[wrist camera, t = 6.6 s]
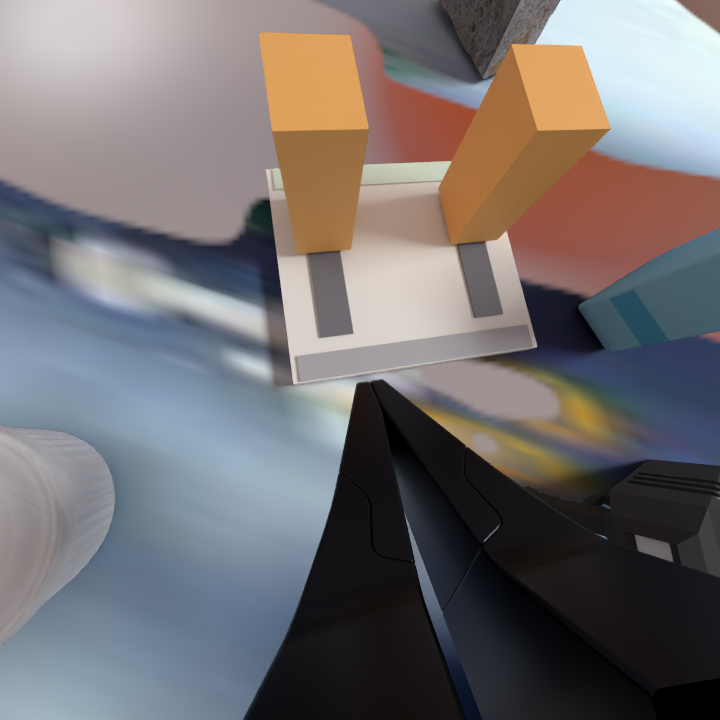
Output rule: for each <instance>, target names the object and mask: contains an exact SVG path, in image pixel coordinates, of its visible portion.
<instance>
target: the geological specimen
mask: <svg viewBox="0 0 720 720" xmlns="http://www.w3.org/2000/svg"><path fill="white" fill-rule="evenodd" d="M559 2H560V0H439V3H440V5H441V6H442V7H444V9H445V10H446V11H447V12H448V14H449V16H450V18H452V22H453V25H454V27H455V30H456V33H457V35H458V38H459V39H460V41H461V43H462V45H463V48H464V49H465V50H466V52H467V53H468V54H470V56H471V58H472V61H473V63H474V64H475V66H476V67H477V68H478V70H479V72H480V75H481V76H482V78H483V79H486V78H488V77H489V76H491V75H496V73H497V71H498V69H499V67H500V65H501V64H502V62H503V60H504V58H505V56H506V54H507V52H508V50H509V48H510V46H511V44H528V45H534V44H535V43H536V41H537V39H538V38H539V36H540V34H541V33H542V31H543V29H544V27H545V25H546V23H547V21H548V19H549V17H550V16H551V15H552V14H553V12H554V11H555V9H556V7H557V5H558V4H559Z"/></svg>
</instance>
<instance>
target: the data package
mask: <svg viewBox="0 0 720 720" xmlns="http://www.w3.org/2000/svg"><path fill="white" fill-rule="evenodd" d="M578 309H579V311H580V312H581V314H582V315H583V317H584V318H585V320H586V321H587V323H588V324H589V326H590V327H591V329H592V330H593V332H594V333H595V335H596V336H597V338H598V339H599V341H600V342H601V344H602V345H603V347H604V348H605V349H606V350H608V351H618V350H624V349H629V348H634V347H640V346H645V345H650V344H655V343H661V342H666V341H671V340H676V339H682V338H687V337H692V336H698V335H703V334H708V333H713V332H718V331H720V228H718V229H716V230H714V231H711V232H709V233H707V234H705V235H703V236H701V237H698V238H696V239H694V240H692V241H690V242H687V243H685V244H683V245H681V246H679V247H676V248H674V249H672V250H670V251H668V252H666V253H664V254H662V255H660V256H658V257H656V258H654V259H653V260H651V261H649V262H647V263H646V264H644V265H643V266H641V267H639V268H638V269H636V270H634V271H633V272H631V273H630V274H628V275H626V276H625V277H623V278H622V279H620V280H619V281H617V282H615V283H614V284H612V285H610V286H609V287H607V288H605V289H604V290H602V291H600V292H599V293H597V294H595V295H594V296H592V297H591V298H589V299H587V300H586V301H584V302H583V303H581V304H580V305H579V306H578Z"/></svg>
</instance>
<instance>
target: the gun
mask: <svg viewBox="0 0 720 720" xmlns="http://www.w3.org/2000/svg"><path fill="white" fill-rule="evenodd" d="M525 489H526V490H528V491H529V492H531V493H532V494H534V495H535V496H537V497H538V498H540V499H541V500H543V501H544V502H546V503H547V504H549V505H550V506H552V507H553V508H555V509H556V510H558V511H559V512H561V513H562V514H564V515H565V516H567V517H568V518H570V519H571V520H573V521H574V522H576V523H577V524H579V525H581V526H582V527H584V528H586V529H587V530H589V531H591V532H593V533H595V534H599V535H602V536H605V537H606V538H607V539H608V540H609V541H612V542H614V543H617V544H619V545H622V546H625V547H628V548H631V549H634V550H637V551H640V552H643V553H647V554H650V555H653V556H656V557H659V558H662V559H665V560H668V561H671V562H674V563H677V564H680V565H684V566H687V567H690V568H693V569H696V570H699V571H702V572H705V573H708V574H711V575H714V576H717V577H719V576H720V466H716V465H705V464H693V463H682V462H671V461H660V460H647V461H646V462H644V463H643V464H642V465H641V466H639V467H638V468H637V469H636V470H635V471H633V472H632V473H631V474H630V475H628V476H627V477H626V478H625V479H623V480H622V481H621V482H620V483H618V484H617V485H616V486H615V487H613V488H612V489H611V490H610V494H597V495H591V496H589V497H588V498H586V499H585V500H584V501H582V502H581V503H578V502H573V501H568V500H567V501H565V500H560V499H559V498H558V497H552V496H548V494H544V493H539V492H538V491H537V490H535V489H533V488H531V487H525ZM602 504H606V505H609V506H610V508H611V509H607V508H605V507H603V506H601V505H602Z"/></svg>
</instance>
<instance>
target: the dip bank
mask: <svg viewBox="0 0 720 720" xmlns="http://www.w3.org/2000/svg"><path fill="white" fill-rule="evenodd" d="M451 162H452V161H446V162H445V161H444V162H420V163H395V164H372V165H371V164H370V165H363V172H362V179H361V185H360V192H359V199H358V206H357V212H356V219H355V226H354V233H353V239H352V246H351V250H339V251H327V252H316V253H304V254H297V251H296V246H295V241H294V236H293V231H292V226H291V222H290V217H289V212H288V207H287V202H286V197H285V192H284V187H283V182H282V177H281V172H280V168H273V169H266V173H267V181H268V189H269V197H270V205H271V213H272V221H273V228H274V236H275V244H276V252H277V260H278V268H279V275H280V283H281V291H282V299H283V307H284V315H285V322H286V330H287V338H288V346H289V354H290V362H291V369H292V377H293V384H294V385H295V386H296V385H302V384H309V383H315V382H322V381H329V380H335V379H342V378H348V377H355V376H361V375H368V374H374V373H381V372H387V371H394V370H400V369H407V368H413V367H420V366H426V365H432V364H439V363H446V362H452V361H459V360H466V359H472V358H479V357H485V356H492V355H498V354H505V353H511V352H518V351H524V350H529V349H532V348H536V347H537V343H536V339H535V336H534V332H533V328H532V324H531V321H530V317H529V313H528V309H527V306H526V302H525V298H524V295H523V291H522V287H521V283H520V280H519V276H518V272H517V268H516V265H515V261H514V257H513V253H512V250H511V246H510V242H509V238H508V235H507V231H506V232H505V233H504V234H503V235H502V236H501V237H500V238H499V239H498V240H494V241H483V242H471V243H460V244H451V242H450V238H449V233H448V229H447V225H446V220H445V216H444V212H443V208H442V203H441V199H440V195H439V190H438V188H439V186H440V184H441V182H442V180H443V178H444V176H445V174H446V172H447V170H448V168H449V166H450V164H451Z"/></svg>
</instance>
